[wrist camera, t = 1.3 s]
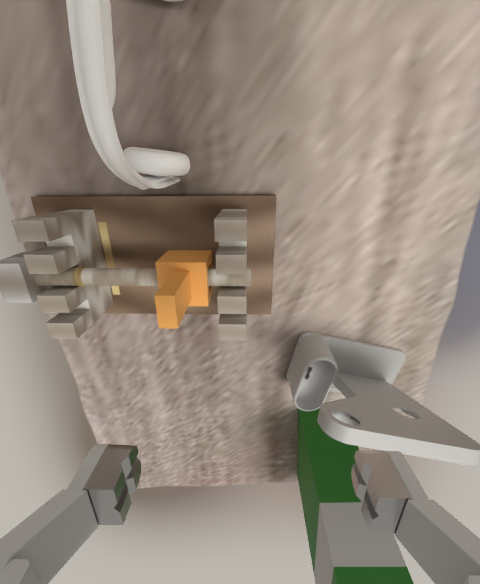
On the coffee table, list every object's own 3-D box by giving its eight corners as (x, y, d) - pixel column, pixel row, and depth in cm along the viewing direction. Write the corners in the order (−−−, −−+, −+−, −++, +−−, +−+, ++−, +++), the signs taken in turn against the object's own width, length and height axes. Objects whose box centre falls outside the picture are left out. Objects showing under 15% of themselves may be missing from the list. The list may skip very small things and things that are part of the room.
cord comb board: (39, 196, 34) (-42, 203, 25) (274, 194, 34) (285, 202, 24) (71, 308, 41) (16, 349, 31) (270, 309, 40) (277, 351, 30)
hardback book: (334, 472, 54) (394, 677, 32) (297, 473, 54) (331, 676, 32) (341, 406, 47) (424, 609, 25) (298, 408, 47) (343, 609, 25)
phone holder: (282, 379, 45) (301, 496, 29) (299, 328, 41) (334, 430, 25) (380, 397, 46) (455, 521, 30) (406, 349, 42) (509, 460, 26)
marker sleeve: (168, 250, 31) (131, 284, 21) (211, 250, 31) (194, 285, 21) (172, 288, 33) (140, 337, 23) (213, 288, 33) (198, 337, 23)
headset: (196, 190, 34) (148, 202, 17) (139, 182, 34) (37, 188, 17) (209, -32, 26) (142, -392, 9) (135, -43, 26) (-64, -431, 9)
